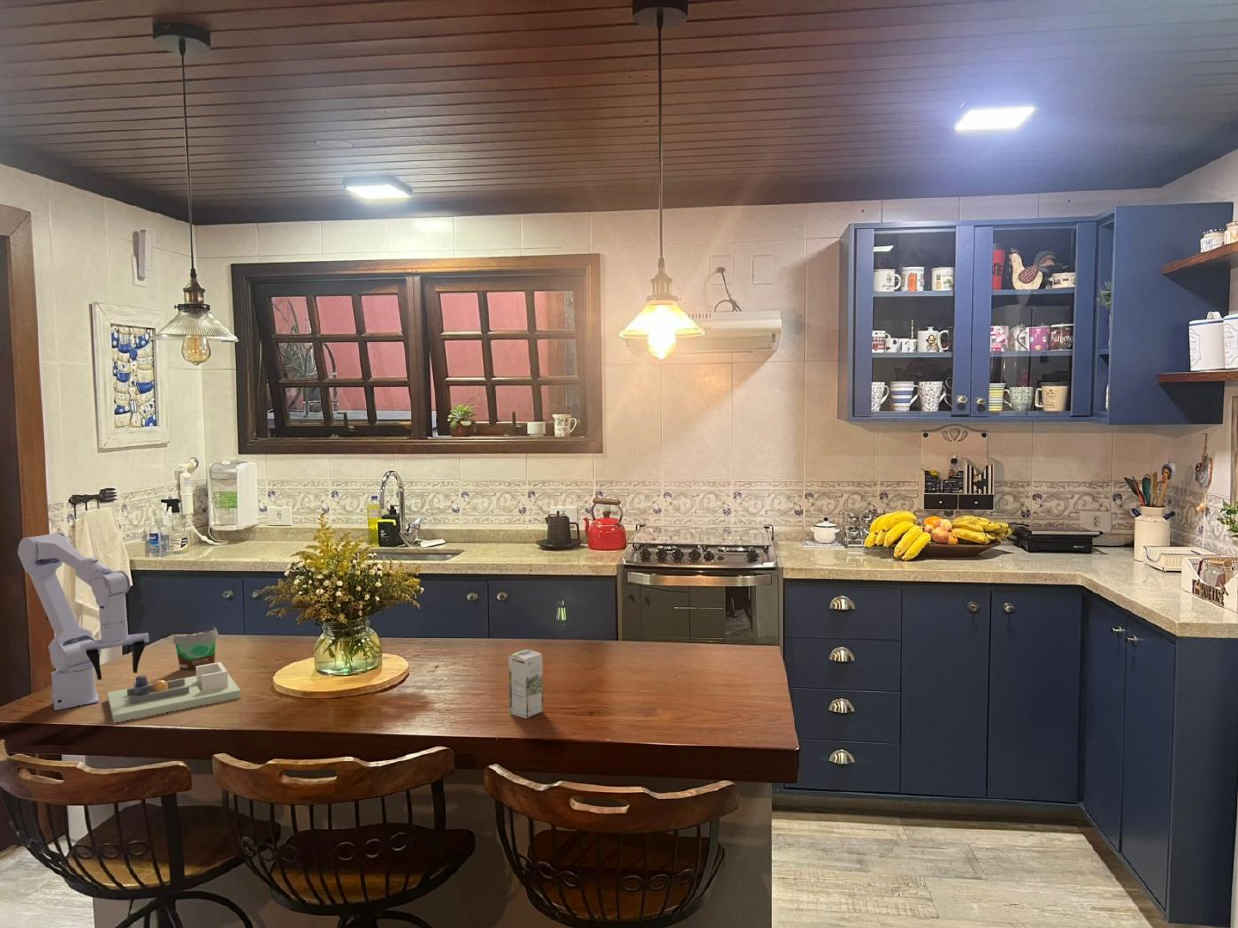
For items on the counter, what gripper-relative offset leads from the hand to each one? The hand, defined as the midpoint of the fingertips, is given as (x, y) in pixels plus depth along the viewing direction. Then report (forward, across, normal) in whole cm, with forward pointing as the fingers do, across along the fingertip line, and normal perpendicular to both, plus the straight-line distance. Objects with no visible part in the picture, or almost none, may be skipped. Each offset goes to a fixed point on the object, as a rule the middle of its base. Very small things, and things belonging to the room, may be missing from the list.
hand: (117, 675), depth 210 cm
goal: (+6, +20, -2) cm, 21 cm away
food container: (+9, +23, +23) cm, 34 cm away
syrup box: (+9, +75, -70) cm, 103 cm away
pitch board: (+8, +12, -1) cm, 15 cm away
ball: (+5, +9, -1) cm, 10 cm away
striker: (+6, +5, -1) cm, 8 cm away
